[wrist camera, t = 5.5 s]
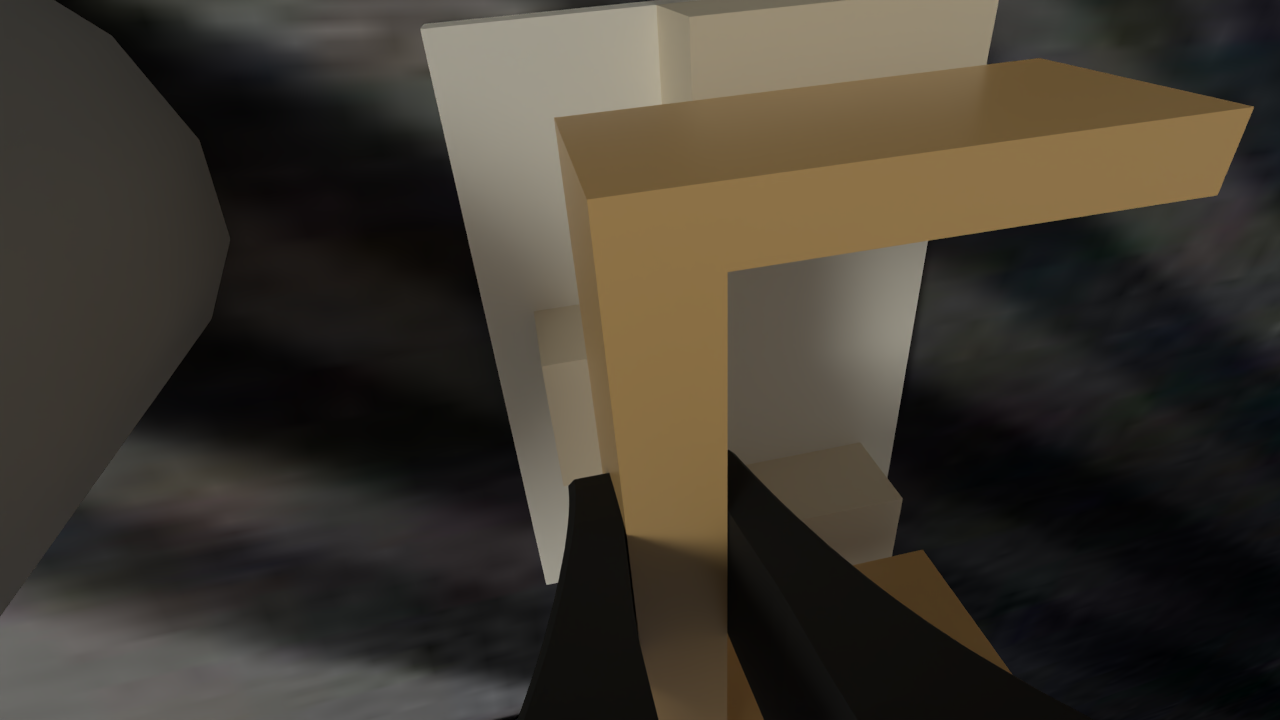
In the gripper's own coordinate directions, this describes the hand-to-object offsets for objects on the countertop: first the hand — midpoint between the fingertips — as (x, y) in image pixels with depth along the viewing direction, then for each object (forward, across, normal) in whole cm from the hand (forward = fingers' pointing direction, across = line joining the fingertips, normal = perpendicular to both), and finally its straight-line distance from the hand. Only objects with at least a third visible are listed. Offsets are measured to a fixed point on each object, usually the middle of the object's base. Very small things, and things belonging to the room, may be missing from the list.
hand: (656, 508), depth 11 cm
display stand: (+6, -3, 0) cm, 6 cm away
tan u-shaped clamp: (+2, -3, 0) cm, 3 cm away
